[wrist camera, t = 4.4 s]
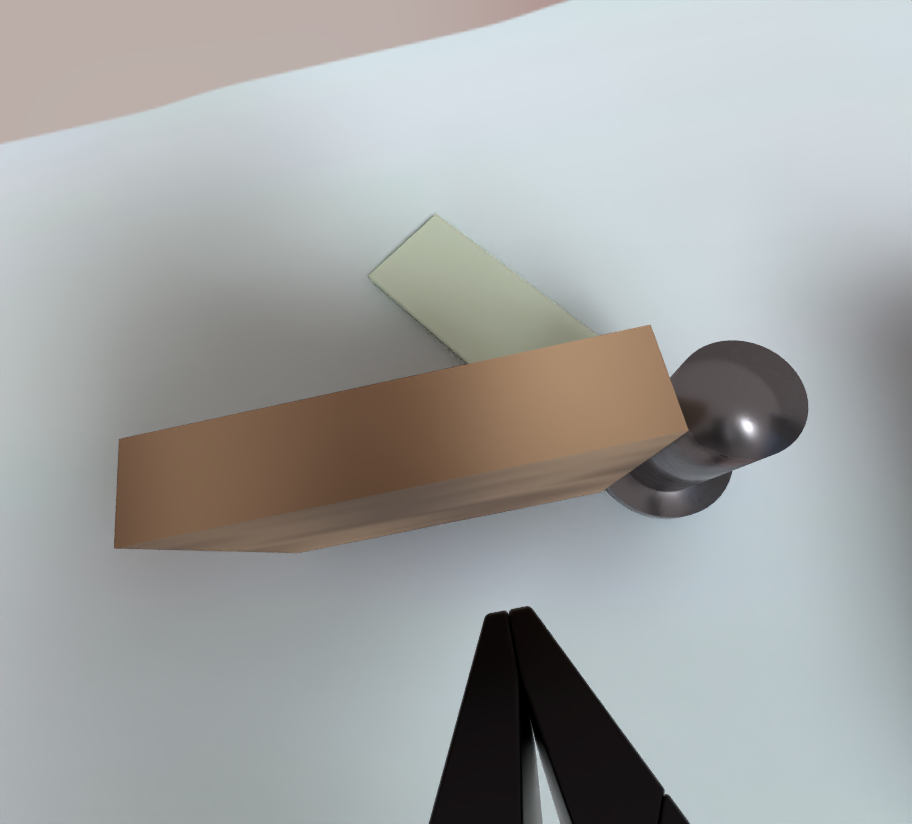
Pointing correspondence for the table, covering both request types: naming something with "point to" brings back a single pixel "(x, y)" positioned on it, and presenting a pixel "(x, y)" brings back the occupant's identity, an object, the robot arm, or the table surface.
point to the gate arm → (402, 451)
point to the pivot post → (718, 428)
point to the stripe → (471, 297)
